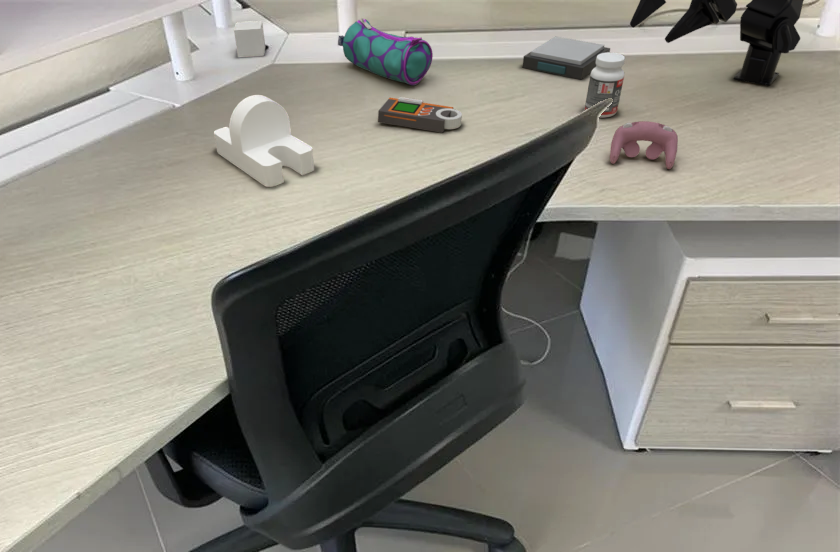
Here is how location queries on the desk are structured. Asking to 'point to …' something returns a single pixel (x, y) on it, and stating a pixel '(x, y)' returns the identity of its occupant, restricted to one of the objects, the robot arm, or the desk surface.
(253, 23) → the light grey cube
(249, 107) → the white slotted bracket
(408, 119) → the electronic device
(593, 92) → the pill bottle
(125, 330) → the desk surface
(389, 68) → the pencil case
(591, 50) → the scale
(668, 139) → the video game controller
